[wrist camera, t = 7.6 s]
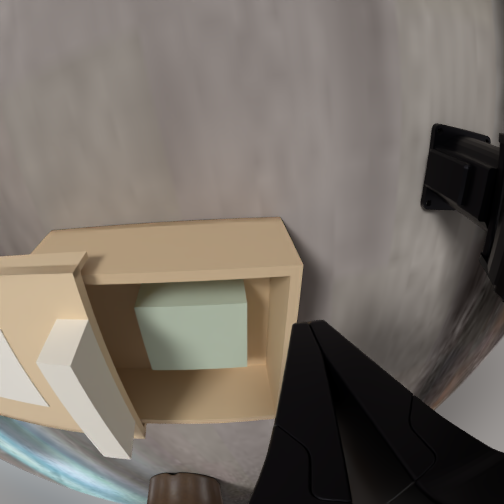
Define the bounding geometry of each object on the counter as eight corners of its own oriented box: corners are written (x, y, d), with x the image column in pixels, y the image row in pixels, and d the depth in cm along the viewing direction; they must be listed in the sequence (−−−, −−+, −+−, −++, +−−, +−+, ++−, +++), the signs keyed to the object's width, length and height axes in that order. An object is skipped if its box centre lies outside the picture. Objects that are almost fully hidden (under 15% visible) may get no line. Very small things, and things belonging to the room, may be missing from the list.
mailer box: (280, 216, 20) (303, 264, 15) (270, 362, 27) (282, 417, 22) (51, 230, 19) (11, 276, 14) (100, 366, 26) (87, 418, 20)
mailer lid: (86, 251, 15) (46, 317, 10) (147, 417, 22) (142, 473, 18) (-76, 261, 13) (-113, 302, 8) (2, 398, 21) (-13, 439, 16)
